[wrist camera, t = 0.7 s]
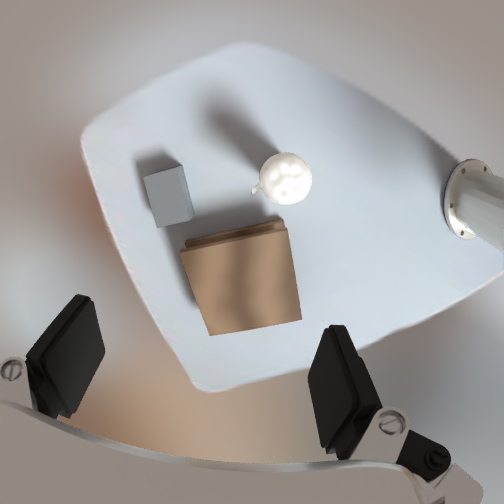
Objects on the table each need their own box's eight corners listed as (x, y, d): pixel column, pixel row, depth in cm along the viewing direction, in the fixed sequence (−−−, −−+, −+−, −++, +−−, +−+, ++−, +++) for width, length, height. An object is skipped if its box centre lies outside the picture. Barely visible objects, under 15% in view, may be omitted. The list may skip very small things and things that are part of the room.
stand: (282, 219, 33) (287, 230, 29) (297, 302, 37) (302, 319, 34) (186, 240, 33) (179, 253, 30) (213, 317, 38) (210, 335, 34)
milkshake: (244, 156, 30) (243, 164, 20) (291, 145, 29) (310, 148, 20) (255, 194, 31) (258, 218, 22) (300, 183, 31) (322, 203, 22)
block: (183, 165, 30) (176, 167, 27) (194, 213, 32) (189, 220, 30) (151, 173, 30) (143, 177, 28) (164, 220, 33) (157, 228, 30)
